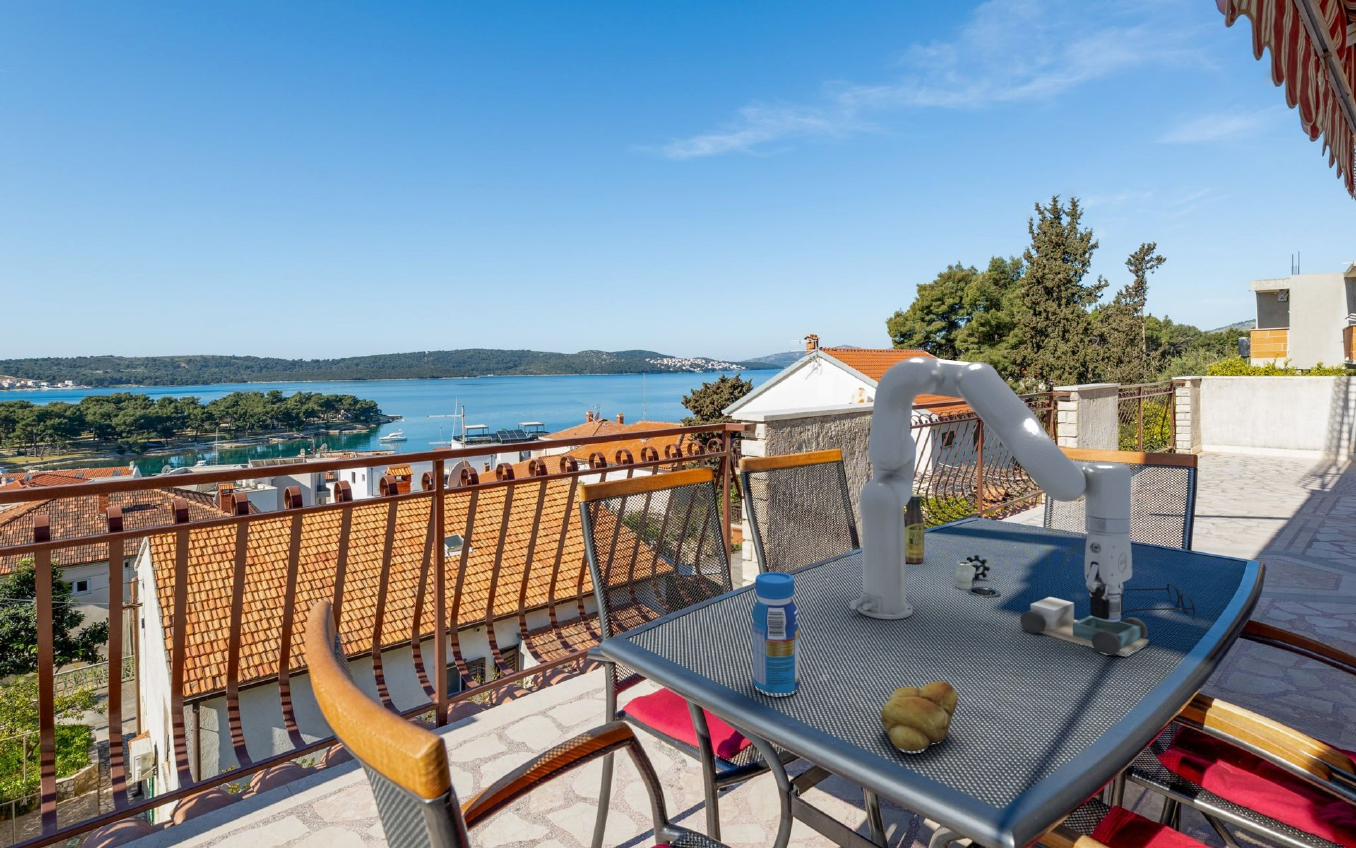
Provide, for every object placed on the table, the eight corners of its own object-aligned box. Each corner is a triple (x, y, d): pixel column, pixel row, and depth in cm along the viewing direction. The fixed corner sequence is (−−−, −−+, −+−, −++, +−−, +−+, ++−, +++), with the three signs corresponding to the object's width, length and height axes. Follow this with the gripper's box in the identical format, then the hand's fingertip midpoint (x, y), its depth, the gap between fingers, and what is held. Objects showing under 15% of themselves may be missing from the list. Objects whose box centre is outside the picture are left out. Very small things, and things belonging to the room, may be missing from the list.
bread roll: (926, 770, 89) (926, 713, 88) (862, 743, 96) (862, 691, 95) (962, 732, 98) (962, 681, 97) (901, 711, 105) (901, 663, 104)
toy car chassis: (1121, 660, 121) (1122, 633, 121) (1016, 628, 138) (1016, 604, 137) (1152, 643, 128) (1152, 618, 128) (1049, 615, 145) (1049, 592, 144)
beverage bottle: (742, 688, 114) (740, 577, 113) (771, 672, 120) (769, 567, 118) (781, 704, 108) (779, 587, 107) (810, 687, 114) (808, 576, 112)
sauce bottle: (910, 565, 187) (909, 497, 186) (897, 559, 193) (896, 494, 192) (929, 563, 188) (929, 496, 187) (916, 557, 194) (915, 492, 193)
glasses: (1197, 623, 139) (1194, 600, 139) (1117, 624, 144) (1114, 602, 144) (1170, 601, 153) (1167, 580, 153) (1098, 603, 158) (1095, 583, 158)
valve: (974, 592, 162) (990, 581, 171) (974, 566, 162) (990, 556, 170) (948, 587, 166) (964, 576, 175) (947, 562, 166) (964, 552, 175)
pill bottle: (1094, 612, 132) (1094, 572, 132) (1121, 617, 129) (1122, 576, 129) (1090, 619, 128) (1091, 578, 128) (1119, 624, 125) (1120, 582, 125)
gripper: (1108, 534, 120) (1106, 630, 121) (1147, 521, 129) (1146, 610, 130) (1065, 527, 126) (1065, 618, 127) (1106, 516, 135) (1105, 601, 136)
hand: (1106, 613), depth 129 cm, fingers closed on pill bottle, 4 cm apart
